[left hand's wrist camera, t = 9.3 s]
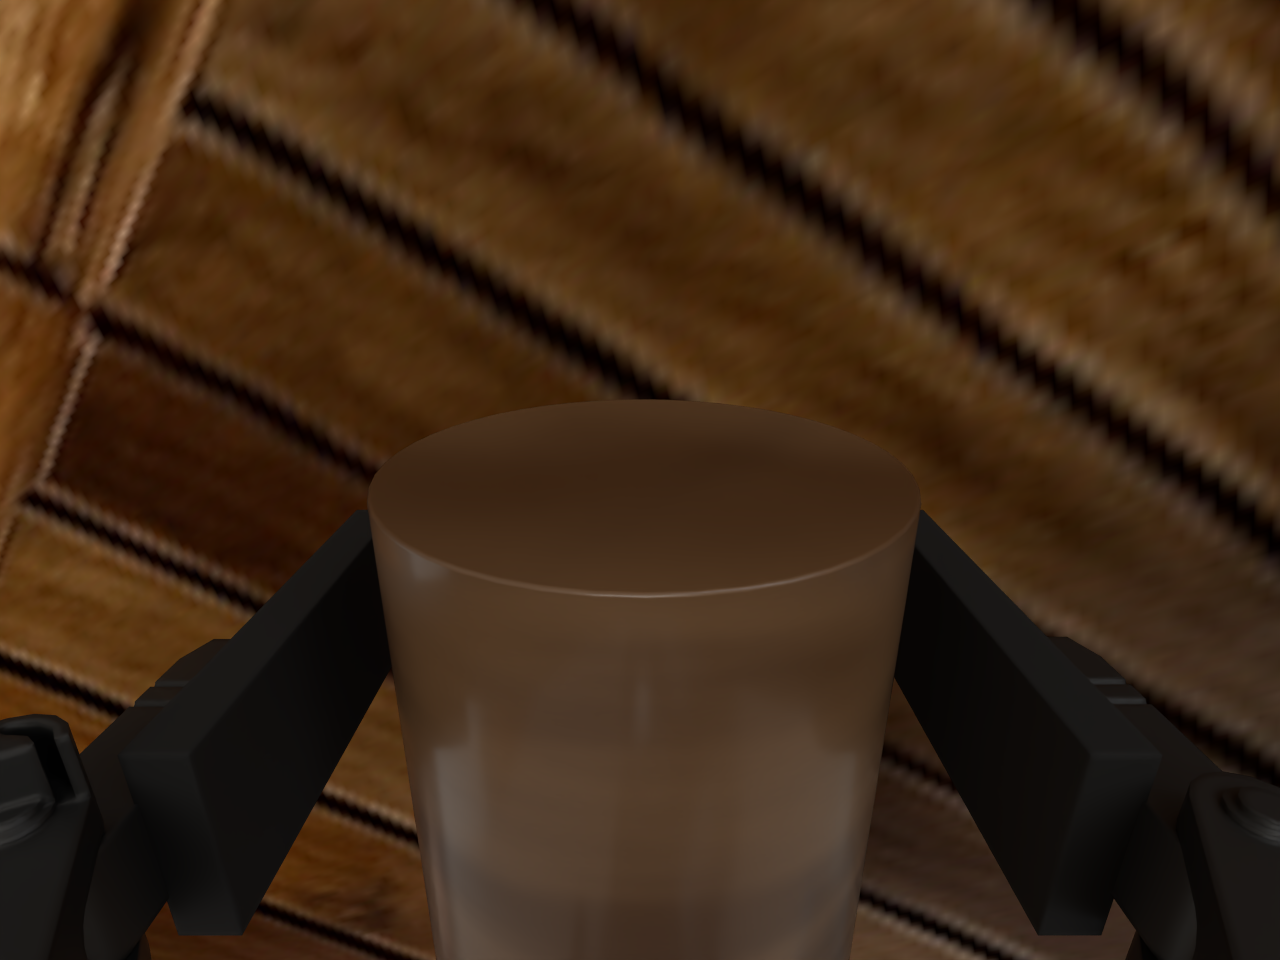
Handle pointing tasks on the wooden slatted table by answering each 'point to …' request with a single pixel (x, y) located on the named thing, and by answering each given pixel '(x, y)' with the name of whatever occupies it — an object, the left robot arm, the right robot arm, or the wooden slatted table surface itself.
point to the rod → (643, 675)
